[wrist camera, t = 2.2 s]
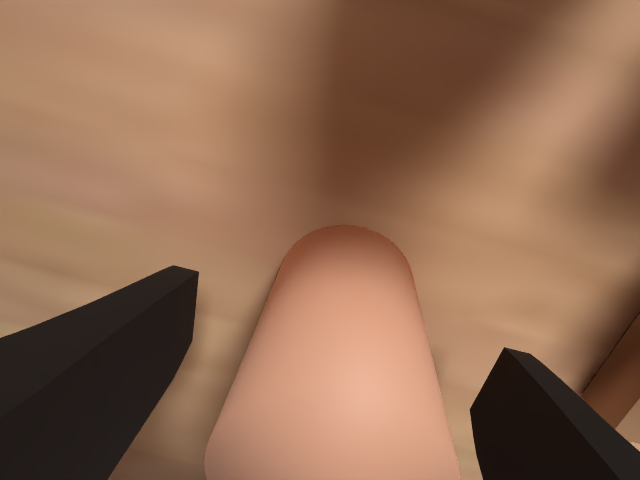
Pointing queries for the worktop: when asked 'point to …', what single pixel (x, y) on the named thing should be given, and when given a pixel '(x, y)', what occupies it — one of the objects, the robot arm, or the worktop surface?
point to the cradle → (619, 386)
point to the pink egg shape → (336, 373)
